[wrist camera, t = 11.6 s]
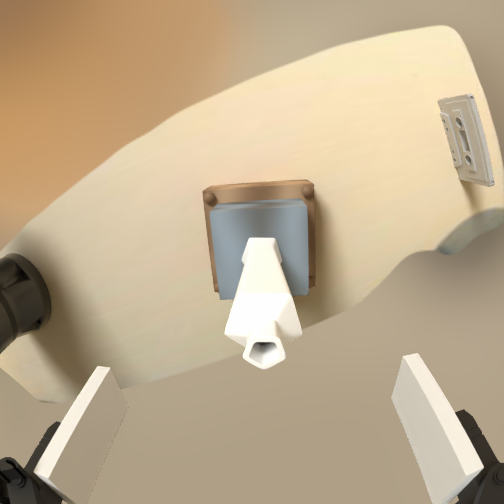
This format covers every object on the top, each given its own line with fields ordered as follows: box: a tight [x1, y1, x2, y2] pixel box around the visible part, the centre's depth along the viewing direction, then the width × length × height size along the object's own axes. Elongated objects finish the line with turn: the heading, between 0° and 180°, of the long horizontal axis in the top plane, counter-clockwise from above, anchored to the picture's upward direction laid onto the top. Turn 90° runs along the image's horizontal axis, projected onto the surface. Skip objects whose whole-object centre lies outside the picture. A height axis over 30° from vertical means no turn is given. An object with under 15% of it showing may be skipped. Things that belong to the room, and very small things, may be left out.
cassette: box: [438, 94, 495, 187], centre depth 29 cm, size 12×2×8 cm, turn 22°
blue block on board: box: [202, 180, 315, 300], centre depth 33 cm, size 12×12×10 cm
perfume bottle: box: [225, 238, 302, 369], centre depth 22 cm, size 5×4×15 cm
